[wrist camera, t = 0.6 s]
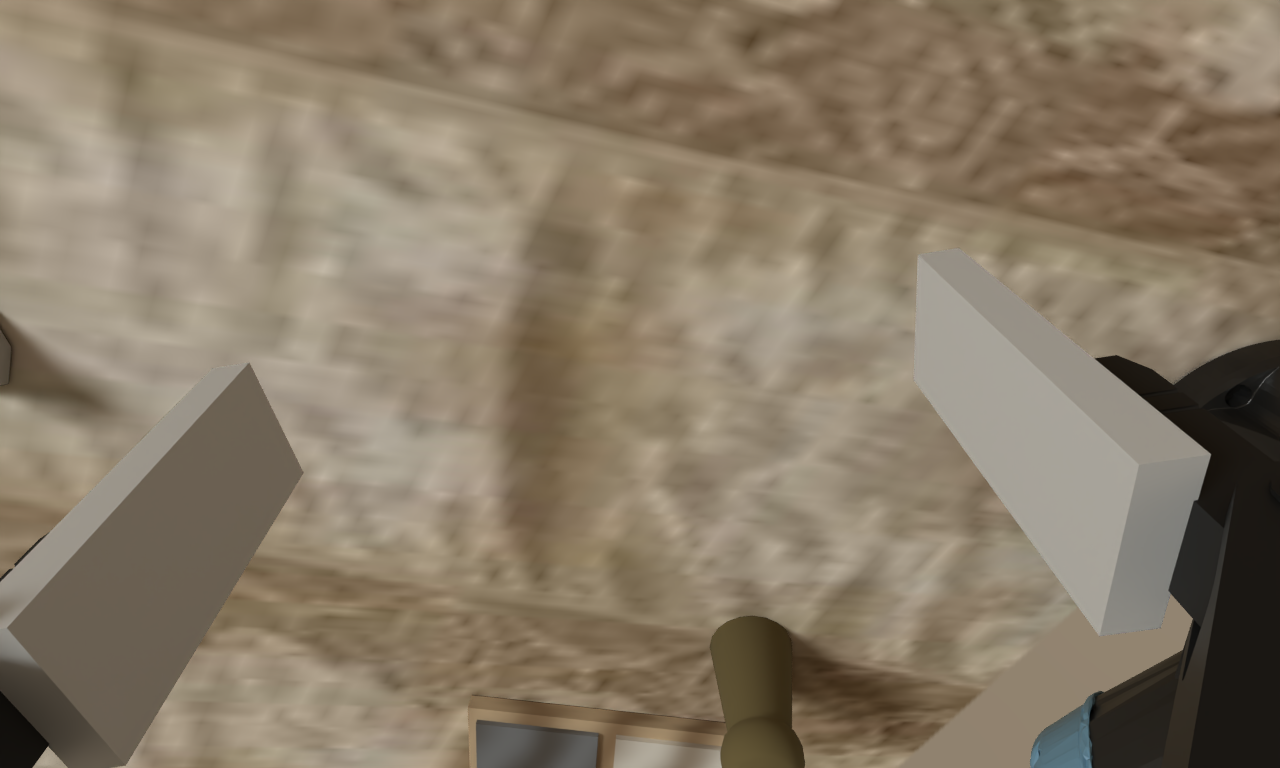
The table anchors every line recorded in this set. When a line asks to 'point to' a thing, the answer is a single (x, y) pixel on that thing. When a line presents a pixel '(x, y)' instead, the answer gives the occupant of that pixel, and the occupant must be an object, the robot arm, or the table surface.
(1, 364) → the flask
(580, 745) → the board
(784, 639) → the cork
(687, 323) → the table surface
